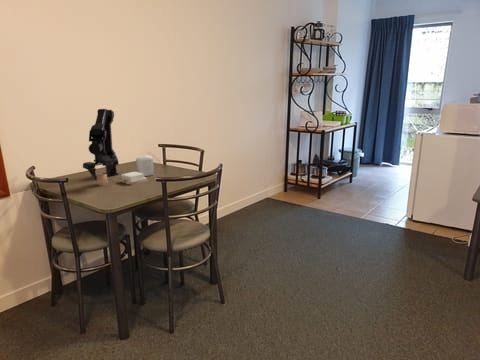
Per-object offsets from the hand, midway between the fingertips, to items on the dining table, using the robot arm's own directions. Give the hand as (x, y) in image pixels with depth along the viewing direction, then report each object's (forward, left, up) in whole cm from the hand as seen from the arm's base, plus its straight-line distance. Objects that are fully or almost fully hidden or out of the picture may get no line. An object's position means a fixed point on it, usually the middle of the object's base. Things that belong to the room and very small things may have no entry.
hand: (102, 178), depth 202 cm
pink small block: (0, 0, -4) cm, 4 cm away
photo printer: (+4, +27, -4) cm, 27 cm away
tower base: (+9, +14, -4) cm, 17 cm away
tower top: (+9, +14, -2) cm, 16 cm away
